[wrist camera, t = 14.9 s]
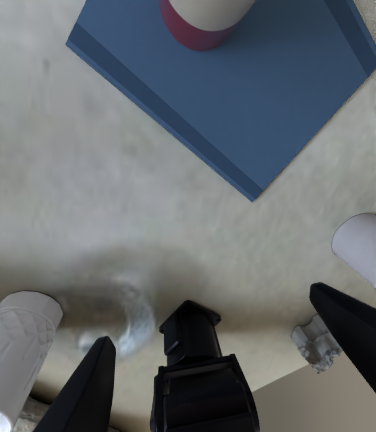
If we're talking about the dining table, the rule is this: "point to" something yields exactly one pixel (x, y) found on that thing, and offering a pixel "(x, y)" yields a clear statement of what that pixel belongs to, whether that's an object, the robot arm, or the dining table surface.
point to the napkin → (234, 77)
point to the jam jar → (203, 20)
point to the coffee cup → (358, 245)
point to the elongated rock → (34, 416)
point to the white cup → (23, 348)
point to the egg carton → (316, 344)
